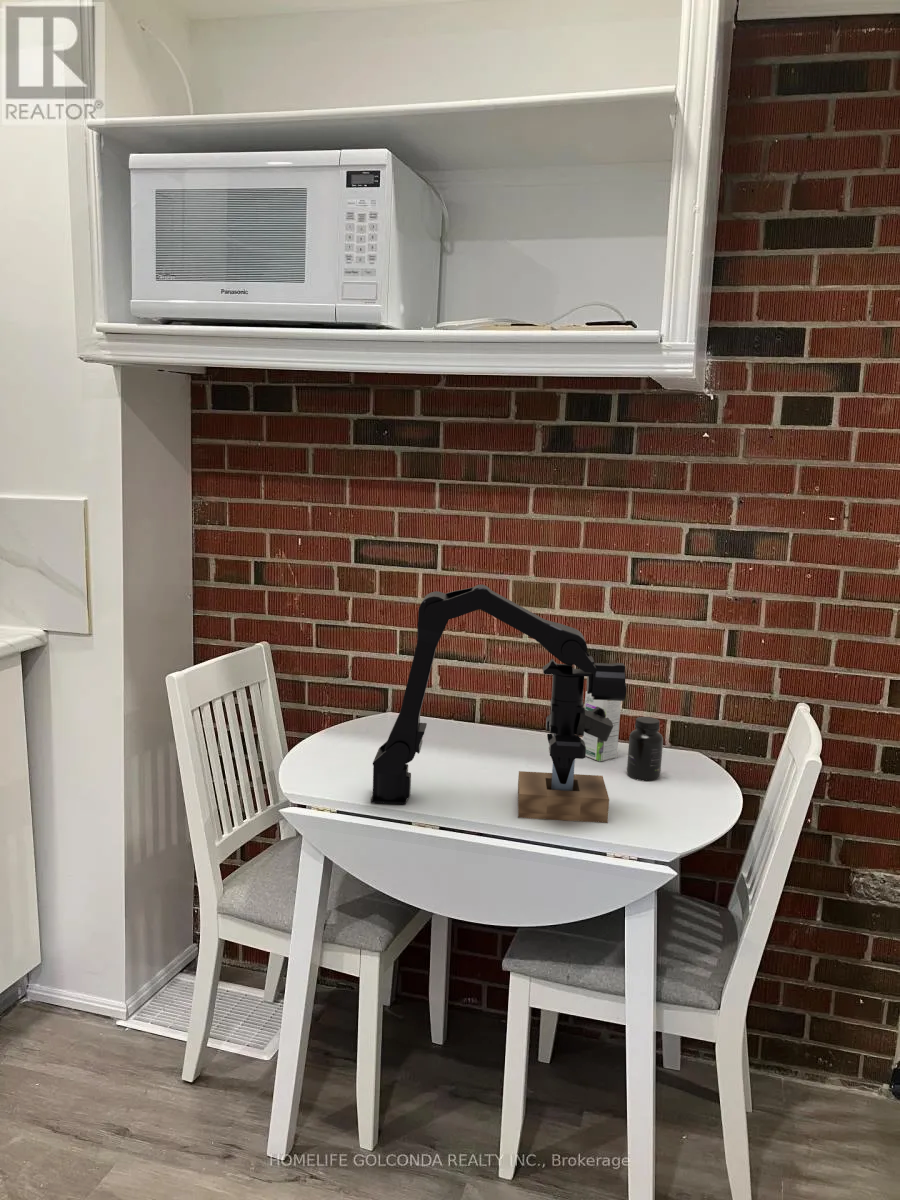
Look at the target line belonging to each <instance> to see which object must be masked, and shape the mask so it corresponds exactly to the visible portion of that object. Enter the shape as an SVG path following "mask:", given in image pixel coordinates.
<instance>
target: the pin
mask: <svg viewBox="0 0 900 1200" xmlns="http://www.w3.org/2000/svg"><path fill="white" fill-rule="evenodd" d="M575 761H576V759H574V761H573V763H572V766H571V770H570V773H569V776H568V779H567V782H566V784H560V781H559V778H558V776H557V773H556V770H555V767H554V764H553V763H552V769H551V773H552V785H551V790H564V791H573V781H574V774H575V763H576V762H575Z"/></svg>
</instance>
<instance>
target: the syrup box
mask: <svg viewBox="0 0 900 1200" xmlns="http://www.w3.org/2000/svg"><path fill="white" fill-rule="evenodd" d="M584 697H585V698H584V707H585V710H587V711H589V710H590V711H592V710H593V709H595V708H596V707H600V708H602V709H604V711H605V718H609V720H611V721H612V723H613V729H612V731H611V733H610V735H609V737H608V740H607V741H606V742H605V741H602V740H600V739H599V738H597V737H595V736H592V735H590V734H588V733H586V732H584V736H582V740H583V741H584V742H585V746H586V755H585V757H588V758H590V759H592V760H595V761H597V762H600V763H601V762H603V761H608V760H612V759H614V758H618V749H619V748H618V746H619V735H620V734H619V732H620V722H621V721H620V720H621V719H620V718H621V708H622V707H621V705H622V701H612V700H593V697H591V693H590V694H587V690H586V691H585V695H584Z"/></svg>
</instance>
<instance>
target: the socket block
mask: <svg viewBox="0 0 900 1200" xmlns="http://www.w3.org/2000/svg"><path fill="white" fill-rule="evenodd" d="M517 777H518V779H517V780H518V782H517V816H518V817H517V818H518V819H531V820H532V819H533V820H535V819H536V820H551V821H554V820H555V821H569V822H570V821H571V822H586V823H587V822H588V823H589V822H590V823H603V824H605V823H606V824H608V821H609V820H608V819H609V809H610V807H609V805H610V797H609V794H608V791H607V786H606V783H605V780H604V776H603V775H595V774H580V773H579V774H577V773H574V781H573V791H564V790H551V785H552V772H539V771H521V770H519V771H518V776H517Z"/></svg>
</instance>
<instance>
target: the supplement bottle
mask: <svg viewBox="0 0 900 1200" xmlns="http://www.w3.org/2000/svg"><path fill="white" fill-rule="evenodd" d="M660 722H661V721H660V720H659V719H658V718H655V717H653V716H652V717H651V716H638V717H636V718H635V724H634V730H632V731H631V732H630V734H629V737H628V739H629V740H628V751H627V762H626V763H627V764H626V773H627V775H628V776H629V777H630V778H631V779H635V780H637V779H638V781H642V780H644V781H643V782H652V781H657V780H658V779H659V778H660V777H661V771H662V761H663V760H662V759H663V758H662V757H663V745H664V738H663V734H661V733H660V732H659V731H660V728H661V727H660Z"/></svg>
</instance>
